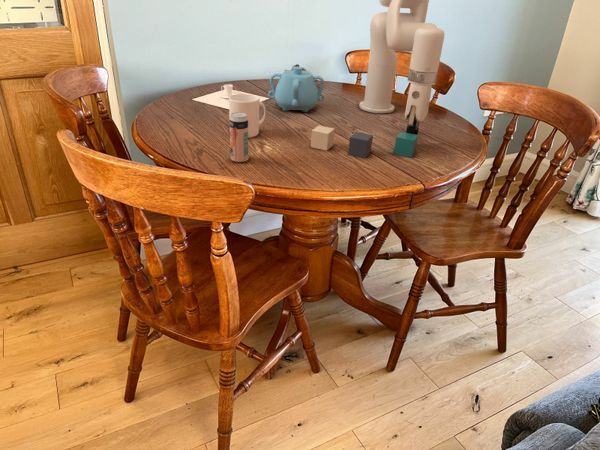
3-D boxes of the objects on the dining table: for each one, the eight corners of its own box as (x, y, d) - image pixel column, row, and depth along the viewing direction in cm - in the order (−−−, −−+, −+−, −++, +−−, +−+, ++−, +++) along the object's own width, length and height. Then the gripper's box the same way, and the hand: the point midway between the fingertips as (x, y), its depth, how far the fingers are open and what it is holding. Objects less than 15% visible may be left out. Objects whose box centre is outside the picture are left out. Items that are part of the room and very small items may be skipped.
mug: (274, 133, 139) (274, 97, 133) (240, 140, 132) (240, 103, 126) (257, 125, 144) (257, 90, 139) (224, 132, 137) (223, 96, 132)
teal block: (397, 148, 133) (400, 131, 130) (415, 151, 131) (418, 134, 129) (393, 154, 129) (396, 137, 127) (411, 157, 127) (414, 140, 125)
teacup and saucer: (245, 96, 170) (245, 85, 168) (231, 101, 164) (231, 89, 162) (227, 92, 174) (227, 81, 172) (213, 96, 168) (212, 85, 166)
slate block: (353, 148, 131) (355, 131, 129) (370, 152, 130) (373, 135, 127) (348, 154, 127) (349, 137, 125) (365, 158, 126) (367, 140, 123)
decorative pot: (263, 104, 164) (264, 64, 157) (300, 98, 172) (302, 60, 165) (290, 117, 153) (291, 75, 146) (328, 110, 161) (331, 70, 154)
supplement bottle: (230, 155, 122) (229, 111, 116) (248, 156, 123) (248, 111, 116) (229, 163, 118) (228, 117, 112) (248, 163, 119) (248, 117, 112)
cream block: (317, 141, 134) (318, 125, 132) (333, 145, 133) (334, 128, 130) (310, 147, 130) (311, 130, 128) (326, 150, 129) (328, 133, 126)
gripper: (430, 84, 118) (418, 152, 127) (440, 73, 130) (428, 136, 139) (402, 80, 120) (391, 146, 130) (414, 69, 132) (403, 131, 142)
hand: (410, 141), depth 134 cm, fingers closed
